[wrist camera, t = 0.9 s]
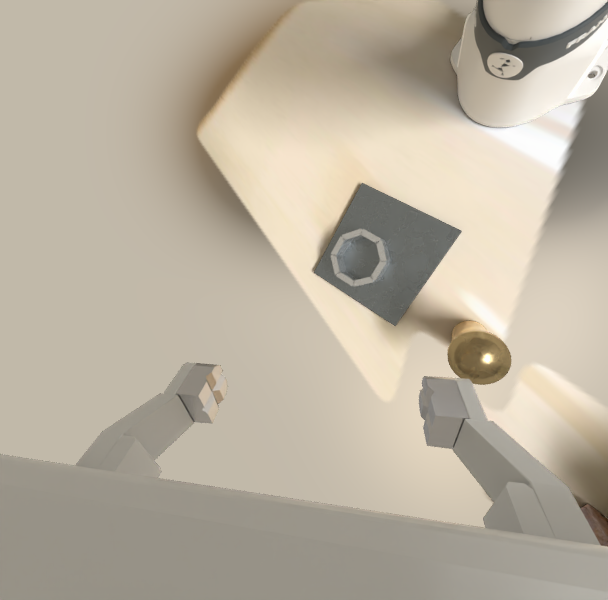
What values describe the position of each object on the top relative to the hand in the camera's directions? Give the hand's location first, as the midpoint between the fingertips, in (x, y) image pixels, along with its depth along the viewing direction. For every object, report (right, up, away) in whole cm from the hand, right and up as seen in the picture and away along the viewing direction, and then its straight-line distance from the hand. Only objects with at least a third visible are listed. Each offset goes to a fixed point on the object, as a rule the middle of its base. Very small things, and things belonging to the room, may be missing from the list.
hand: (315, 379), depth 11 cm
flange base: (+13, +11, +37) cm, 41 cm away
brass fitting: (+26, -3, +32) cm, 41 cm away
